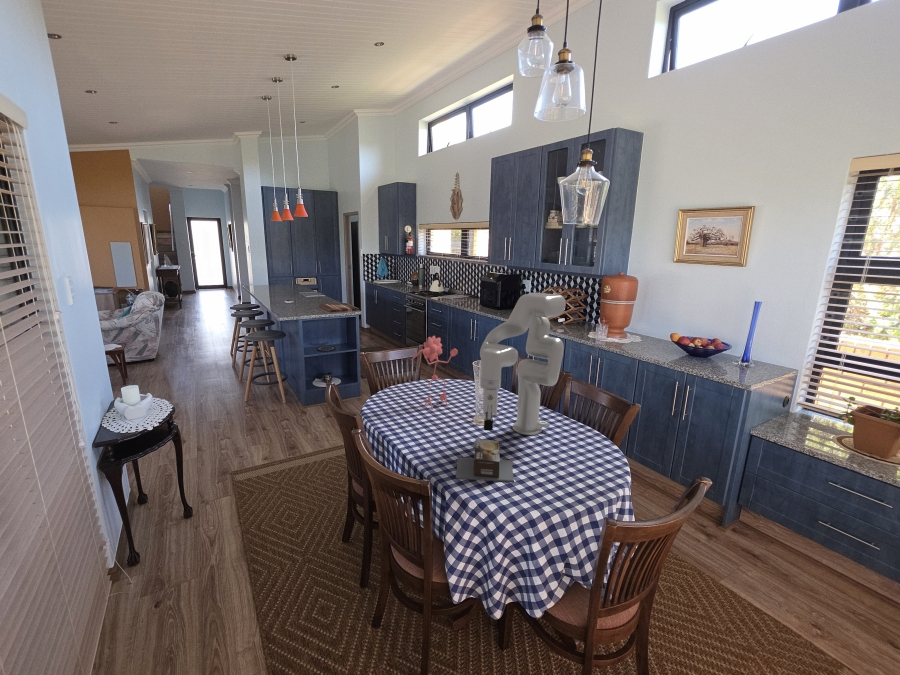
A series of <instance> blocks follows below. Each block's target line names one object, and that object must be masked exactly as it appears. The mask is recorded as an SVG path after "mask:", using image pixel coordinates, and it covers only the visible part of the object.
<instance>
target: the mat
mask: <svg viewBox="0 0 900 675" xmlns="http://www.w3.org/2000/svg"><path fill="white" fill-rule="evenodd" d="M499 460H500V463H499V478H496V477H483V476H474V457H473V458H471V457H457V464H456V472H455V473H456V474H455V479H456V480H457V479H458V480H469V481H470V480H471V481H472V480H473V481H476V480H477V481H489V482H490V481H491V482H492V481H493V482H494V481H495V482H506V483H507V482H509V483H513V482H515V478H514V472H513V471H514V470H513V463H512V459H511V460H508V459H499Z"/></svg>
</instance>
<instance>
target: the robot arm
mask: <svg viewBox="0 0 900 675" xmlns="http://www.w3.org/2000/svg"><path fill="white" fill-rule="evenodd" d="M566 303H567V302H566V299H565V297H564V295H561V294H555V293H544V292H530V293H527V294H522V295H521V296H520V297H519V298H518V300H517V301H516V303H515V306H514V308H513V310H512V312H511V313H510V315H509V317H508V319H507V320H506V321H505V322H502V323H500V324H499V325H498V326H496V327H494V328H493V329H492V330H490V331H489V333H488V334H487V335H486V337H485V338H484V341H483V342H482V344H481V347H480V349H479V357H480V374H479V375H480V376H479V386H480V388H481V389H482V408H483V409H482V411H483V415H484V420H483V421H484V422H483V430H484V431H489V432H490V431H491V432H492V431H493V430H494V419H493V418H494V417H493V416H495V417H496V416H498V396H499V394H498V392H499V391H498V390H499V389H501V386H502V384H501V383H502V369H503V368H506V367H508V368H509V367H512V366H514V365H515V364H516V363H517V361H518V359H519V352H518V350H517V349H516V348H515V347H513V346H511V345H505V344H500V342H501V341H503V340H506V339H508V338H513V337H517V336H521V335H524V334H525V333H527V331H528V333H527V338H526V345H525V352H526V354H527V355H528V356H531V357H534V358H539V359H544V360H547V362H545V361H543V360H542V361H541V360H537V359H530V358H528V359H527V358H524V359H522V360H521V361H519V363H518V365H517V369H516V370H517V373H516V375H517V380H518V388H517V389H518V390H517V391H518V393H517V394H518V395H517V409H516V422H514V423H513V424H512V430H513V431H514V432H516V433H518V434H520V435H525V436H534V435H539V434H540V433H541V432H542V430H543V429H542V428H550V427H551V426H550V422H546V421H545V420H542V421H541V420H540V409H541V408H540V407H541V406H540V405H541V395H542V394H541V392H542V391H541V388H540V386H539V385H543V386H547V387H553V386H555V385H556V384H557V383H558V380H559V377H560V372H561V366H562V362H563V358H564V350H565V349H564V348H565V345H564V342H563V340H562V339H561V338H558V337H553V336H550V329H551V323H550V320H549V318H554V317H559V316H561V315H562V314H563V313H564V311H565V309H566Z"/></svg>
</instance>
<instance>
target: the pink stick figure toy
mask: <svg viewBox="0 0 900 675" xmlns="http://www.w3.org/2000/svg"><path fill="white" fill-rule="evenodd" d="M441 339H442V338H441V337H436V335H432V336H428V337H427V341H424V342H423V347H424V348H423V349H422V348H421V349H420V350H419V351H418V352H417V353H415V355H413V357H412V358H411V359H410V361H413V360H414V359H415V358H417V357H418V356H419V355H420V354H421V353H422V354H423V357H424V359H425V361H426V362H427V364H428V365H432V364H434V371H433V375H432V376H431V380H430V383H429V384H428V389H430V386H431V383H432V382H433V381H436V380H440V381H443V382H444V384H443V389H445V387H446V386H445V384H446V380H444V379H442V378H439V377H438V375H437V374H436V369H437V365H438V363H445V364H448V363H449V362H450V360H451V358H452V357H453V358H454V357H455V356H457V355H458V353H459V352H458V349H456V348H452V349H451V350H450V352H449V353H450V356H449V358H448V360H447V361H443V360H439V355H442V354H443V348H442V347H443V344H442V343H441ZM428 359H429V360H428ZM434 360H435V361H434ZM429 361H430V362H429ZM430 398H432V396H429V397H427V399H426V401H425V403H424V404H423V408H425V407H426V405H427V404H428V403H429V404H430V406H431V407H430V408H431V410H432V411H434V408H433V404H432V401H431V399H430ZM446 398H447V393H446V392H445V390H443V393H442V394H441V395H440V396H439V400H440V401H441V402H445V406H446V405H447V406H448V402H447V400H446ZM423 400H424V398H423V399H422V401H423ZM413 405H415V403H414V402H413Z"/></svg>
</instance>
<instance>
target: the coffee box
mask: <svg viewBox="0 0 900 675" xmlns="http://www.w3.org/2000/svg"><path fill="white" fill-rule="evenodd" d="M473 458H474V476H483V477H496V478H499V463H500V460H501V459H500V442H499V440H490V439H489V440H488V439H475V440H474V454H473Z"/></svg>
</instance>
